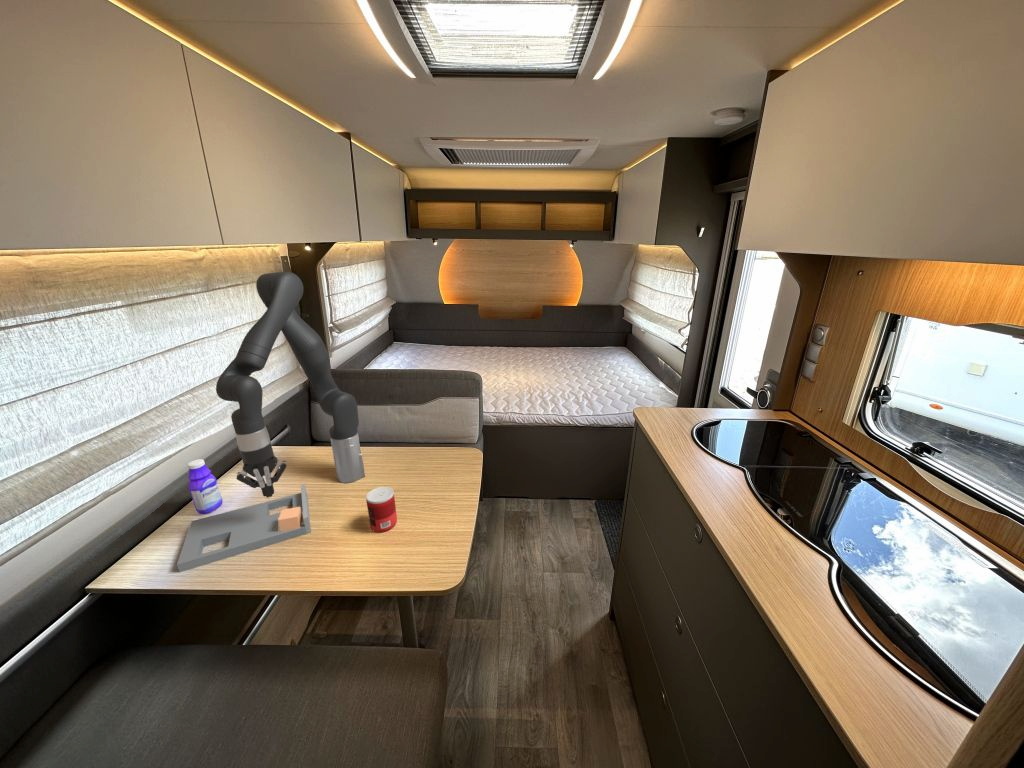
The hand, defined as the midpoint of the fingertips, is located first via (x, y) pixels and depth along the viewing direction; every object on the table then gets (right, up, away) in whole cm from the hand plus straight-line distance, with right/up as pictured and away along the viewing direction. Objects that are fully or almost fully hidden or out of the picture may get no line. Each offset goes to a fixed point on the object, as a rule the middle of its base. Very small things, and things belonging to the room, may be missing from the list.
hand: (269, 495), depth 117 cm
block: (+6, -9, +1) cm, 11 cm away
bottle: (-27, -8, +13) cm, 31 cm away
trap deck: (-7, -11, +2) cm, 14 cm away
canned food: (+32, -10, +5) cm, 34 cm away
